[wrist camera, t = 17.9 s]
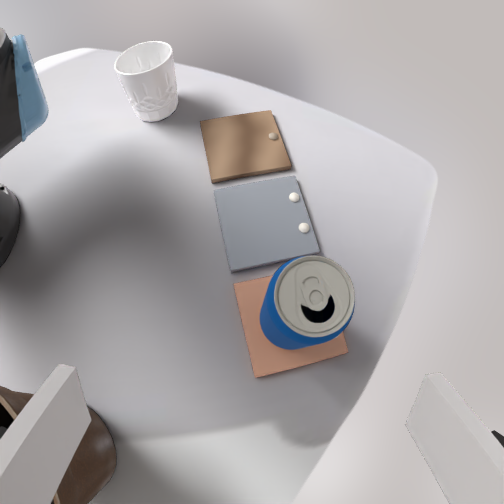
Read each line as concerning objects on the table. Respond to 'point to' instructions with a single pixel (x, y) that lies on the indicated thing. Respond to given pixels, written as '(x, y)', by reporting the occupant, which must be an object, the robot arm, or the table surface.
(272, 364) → the three-dot tile
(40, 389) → the robot arm
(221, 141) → the one-dot tile
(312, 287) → the beverage can
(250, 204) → the two-dot tile
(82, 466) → the plant pot
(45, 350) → the table surface
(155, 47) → the white cup
